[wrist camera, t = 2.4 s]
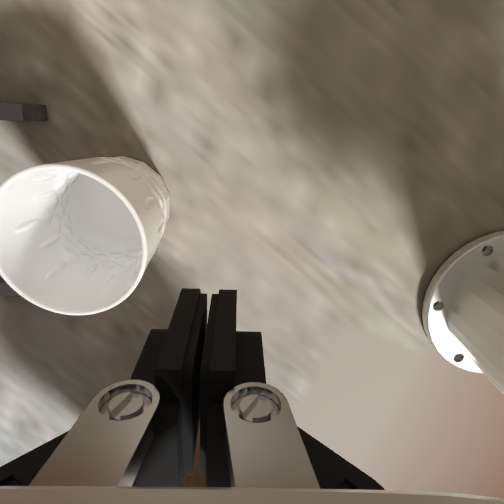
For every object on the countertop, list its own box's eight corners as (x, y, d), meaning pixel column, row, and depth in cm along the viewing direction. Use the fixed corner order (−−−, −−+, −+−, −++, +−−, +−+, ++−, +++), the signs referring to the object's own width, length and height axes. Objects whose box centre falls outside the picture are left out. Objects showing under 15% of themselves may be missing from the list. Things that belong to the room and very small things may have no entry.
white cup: (66, 144, 27) (-31, 158, 17) (179, 151, 27) (144, 169, 18) (76, 249, 29) (-3, 312, 20) (179, 255, 30) (149, 319, 20)
